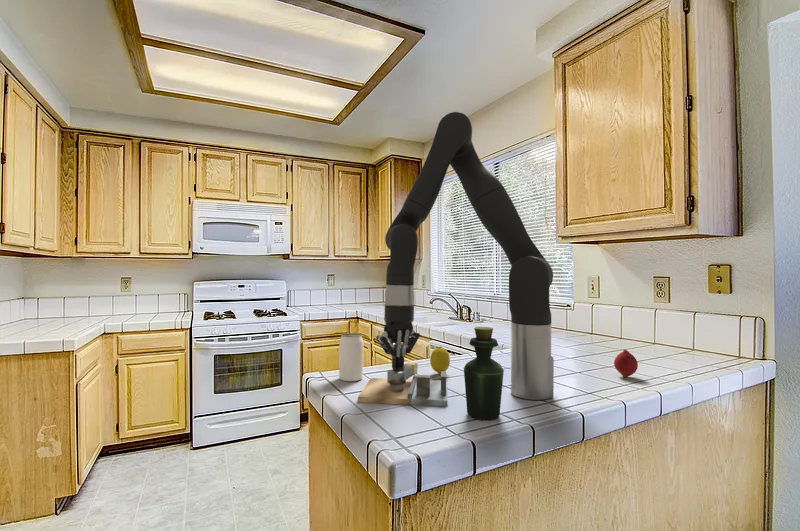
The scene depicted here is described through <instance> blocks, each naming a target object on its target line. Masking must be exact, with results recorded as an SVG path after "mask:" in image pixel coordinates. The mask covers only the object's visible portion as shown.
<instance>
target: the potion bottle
mask: <svg viewBox="0 0 800 531" xmlns="http://www.w3.org/2000/svg"><path fill="white" fill-rule="evenodd" d="M493 330H494V327H490V326H476V327H474V333H475V337H471V338H470V341H469V345H470V346H471V347H473V348H474V352H475V355H476V357H475V358H473V359H471V360H470V361H467V362H466V363H465V365H464V367H463V374H464V375H463V376H464V386H465V388H464V389H465V400H466V412H467V415H468V417H470V418H472V419H474V420H477V421H483V420H485V421H486V420H488V421H489V420H490V421H495V420H496V419H498V418H499V417H500V415H501V405H502V404H501V403H502V394H503V381H504V375H505V374H504V371H505V370H504V368H503V366H502V365H501V364H500V363H499V362H497V361H495V360H494V359H493V358H492V354H493V350H494V348H496V347H498V346H499V343H498V340H497V339H496V338H493V337H492V336H493ZM494 419H495V420H494ZM488 421H487V422H488Z"/></svg>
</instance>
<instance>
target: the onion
mask: <svg viewBox="0 0 800 531" xmlns="http://www.w3.org/2000/svg"><path fill="white" fill-rule="evenodd" d="M613 365H614V366H613V367H614V368H615V369H616V371H617V372H618V373H619V374H620V375H621V376H622V377H624V378H628V377H630V376H632V375H633V374H635V373H636V372H637V370H638V367H639V365H638V360H637V358H636V357H635V356H634V355H633V354H632V353H631V352H630V351H629V350H628V349H626V348H623V349H622V352H619V353H618V354H617V355H616V357H615V359H614V362H613Z"/></svg>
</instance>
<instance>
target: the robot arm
mask: <svg viewBox="0 0 800 531" xmlns="http://www.w3.org/2000/svg"><path fill="white" fill-rule="evenodd" d="M472 137H473V125H472V122H471V118H469V117H468V115H466V114H465V113H464V112H460V111H451V112H449V113H447V114H444V115H443V116H442V118H441V119H440V120H439V123H438V124H437V128H436V132H435V135H434V138H433V141H432V143H431V147H430V149H429V151H428V154H427V156H426V159H425V161H424V163H423V166H422V168H421V169H420V172H419V174H418V175H417V178H416V179H415V182H414V184H413V186H412V187H411V189H410V191H409V192H408V195H407V197H406V198H405V200H404V202H403V205H402V208H401V209H400V210H399V212H398V214H397V215H396V216H395V218H394V219H393V220H392V222H391V224H390V226H389V227H388V230H387V231H386V234H385V236H384V237H385V238H384V240H385V245H386V247H387V248H388V250H390V255H389V256H390V259H389V262H388V264H387V266H386V277H385V279H386V280H385V283H386V284H385V285H386V286H385V290H384V291H385V292H384V317H383V319H384V322H385V325H384V326H383V327H384V328H383V332H382V333H381V334H380V335H379V334H378V335H376V341H377V342H378V343H379V346H380V347H381V348H382V350H383V351H384V353H385V354H386V355H390V356H391V370H392V369H397V368H399V367H401V366H403V365H405V356H406V355H407V354H410V353H411V352H412V350H413V349H414V347H415V345H416V344H417V342H418V340H419V338H420V336H421V333H419V332H416V331H415V330H414V325H413V322H414V318H415V288H414V287H415V286H414V285H415V284H414V282H415V281H414V280H415V279H414V278H415V277H414V275H415V269H414V268H415V263H416V257H417V253H418V246H419V238H418V234H417V231H418V229H419V227H420V225H421V224H423V222H425V221H426V219H427V218H428V217H429V214H430V212H431V211H432V209H433V207H434V205H435V203H436V201H437V198H438V196H439V194H440V192H441V188H442V186H443V182H444V179H445V178H446V177H445V176H446V174H447V172H448V169H449V167H450V166H451V168H452V169H453V171H454V172H455V174H456V176H457V178H458V179H459V181H460V184H461V186H462V189H463V190H464V193H465V195H466V196H467V199H468V200H469V202H470V205H471V206H472V208H473V210H474V212H475V214H476V216H477V218H478V220H479V221H480V223H481V224H482V225H483V227H484V228H485V230H487V232H488V233H489V234H490V235H491V237H492V238H493V239H494V240H495V241H496V242H497V243H498V245H499V247H501V249H502V251H503V252H504V254H505V256H506V257H507V259H508V262H509V264H510V265H511V268H510V269H509V273H508V274H509V275H508V301H509V302H508V304H509V305H508V308H509V312H510V320H511V321H510V322H511V324H510V325H511V327H510V333H511V334H510V340H511V341H510V344H511V345H510V349H511V350H510V351H511V352H510V393H511V395H513V396H515V397H517V398H520V399H526V400H532V401H533V400H534V401H535V400H536V401H538V400H539V401H542V400H548V399H554V390H555V389H554V388H555V387H554V382H555V381H554V380H555V379H554V374H555V373H554V372H555V371H554V367H555V365H554V364H555V363H554V361H555V359H554V357H553V356H552V311H551V306H550V287H551V285H552V283H553V280H554V272H553V268H552V266H551V264H550V263H549V262H548V260H547V259H546V258H545V257H544V256H543V254H542V253H541V252H540V250H539V249H538V247H537V246H536V244H535V243H534V241H533V240H532V238H531V236H530V235H529V233H528V231H527V229H526V227H525V225H524V222H523V220H522V218H521V216H520V214H519V212H518V210H517V208H516V206H515V204H514V202H513V200H512V199H511V196H509V193H508V191H507V190H506V188H505V186H504V185H503V184H502V182H501V181H500V180H499V179H498V178H497V176H496V175H494V174H493V173H492V172H491V171H490V170H489V169H488V168H487V167H486V166H485V165H484V164H483V162H482V161H481V159H480V157H479V155H478V153H477V151H476V149H475V147H474V144H473V140H472V139H473V138H472Z"/></svg>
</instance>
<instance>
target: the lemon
mask: <svg viewBox="0 0 800 531" xmlns="http://www.w3.org/2000/svg"><path fill="white" fill-rule="evenodd" d="M429 359H430V361H429V363H430V365H431V366H430V367H431V368H432V370H433V371H435V372H436V374H438V375H441V371H446V372H447V370H448V369H449V367H450V363H451V358H450V354H449V352H448V350H446V348H443V347H442V346H441V345H440V346H438V347H436V348H434V349H433V351H432V352H431V354H430V358H429Z"/></svg>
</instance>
